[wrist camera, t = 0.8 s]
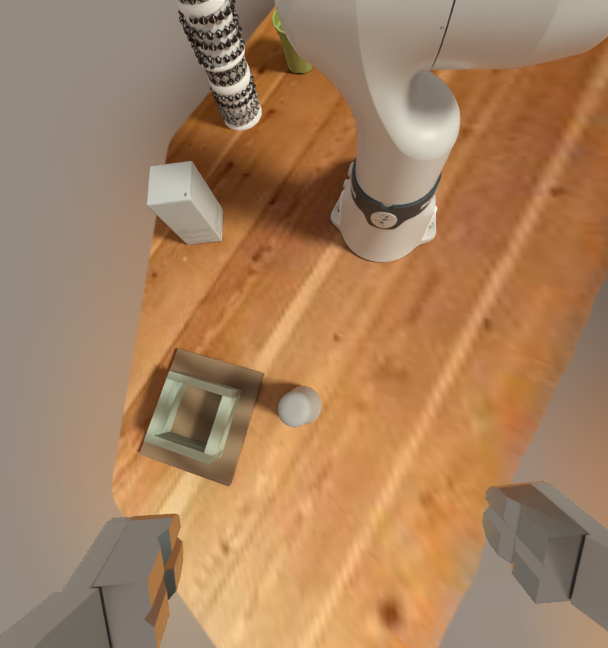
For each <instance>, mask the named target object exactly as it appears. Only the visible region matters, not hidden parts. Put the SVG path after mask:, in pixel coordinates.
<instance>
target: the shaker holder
mask: <svg viewBox="0 0 608 648" xmlns="http://www.w3.org/2000/svg"><path fill="white" fill-rule="evenodd" d="M263 376H264V373H261V372H258V371H254V370H251V369H247V368H244V367H240V366H237V365H233V364H230V363H226V362H223V361H219V360H216V359H212V358H209V357H205V356H202V355H198V354H195V353H191V352H188V351H184V350H181V349H177V352H176V355H175V357H174V360H173V363H172V366H171V368H170V371H169V373H168V376H167V378H166V381H165V384H164V387H163V389H162V392H161V395H160V398H159V400H158V403H157V406H156V409H155V411H154V414H153V417H152V420H151V422H150V425H149V428H148V431H147V433H146V436H145V439H144V443H143V445H142V448H141V451H140V455H143V456H146V457H148V458H151V459H154V460H157V461H160V462H162V463H165V464H168V465H171V466H173V467H176V468H179V469H182V470H184V471H187V472H190V473H193V474H196V475H198V476H201V477H204V478H207V479H209V480H212V481H215V482H218V483H220V484H223V485H226V486H230V485H231V483H232V479H233V476H234V473H235V469H236V466H237V463H238V459H239V456H240V453H241V449H242V446H243V443H244V439H245V436H246V433H247V429H248V426H249V423H250V420H251V416H252V413H253V410H254V406H255V403H256V400H257V396H258V393H259V390H260V386H261V383H262V380H263Z"/></svg>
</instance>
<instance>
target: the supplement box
mask: <svg viewBox="0 0 608 648" xmlns="http://www.w3.org/2000/svg"><path fill="white" fill-rule="evenodd" d="M146 205H147V206H148V207H149V208H150V209H151V210H152V211H153V212H154V213H155V214H156V215H157V216H158V217H159V218H160V219H161V220H162V221H163V222H164V223H165V224H167V225H168V226H169V227H170V228H171V229H172V230H173V231H174V232H175V233H176V234H177V235H178V236H179V237H180V238H181V239H182V240H183V241H184V242H185V243H186V244H188V245H189V244H199V243H209V242H218V241H222V225H223V208H222V207H221V205H220V204H219V202H218V201H217V199H216V198H215V196H214V195H213V193H212V191H211V190H210V188H209V187H208V185H207V184H206V182H205V181H204V179H203V177H202V176H201V174H200V173H199V171H198V170H197V168H196V167H195V165H194V164H193V162H192V161H187V162H180V163H172V164H164V165H157V166H151V167H150V172H149V184H148V194H147V203H146Z"/></svg>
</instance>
